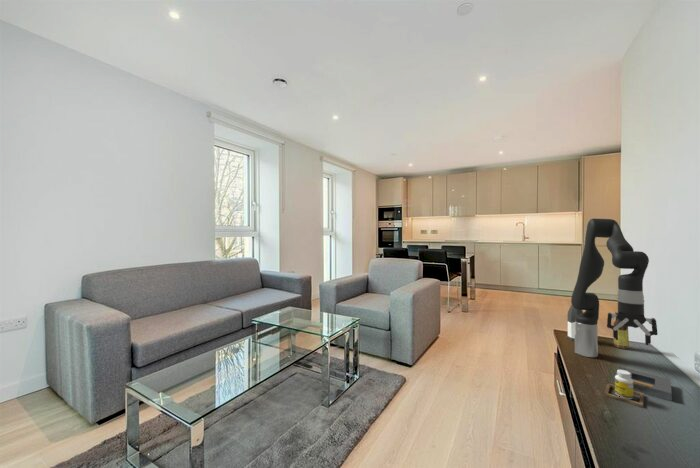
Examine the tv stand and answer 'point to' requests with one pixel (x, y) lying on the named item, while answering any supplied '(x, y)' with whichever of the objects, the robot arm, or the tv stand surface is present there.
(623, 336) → the sauce bottle
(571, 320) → the wine bottle
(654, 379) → the socket plate
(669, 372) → the tv stand surface
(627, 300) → the robot arm
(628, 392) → the supplement bottle
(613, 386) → the cradle
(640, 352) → the tv stand surface
